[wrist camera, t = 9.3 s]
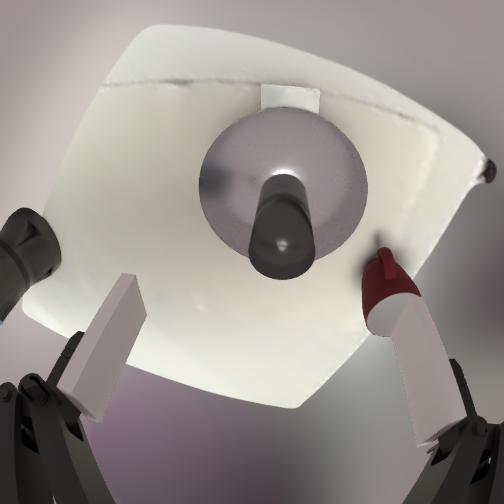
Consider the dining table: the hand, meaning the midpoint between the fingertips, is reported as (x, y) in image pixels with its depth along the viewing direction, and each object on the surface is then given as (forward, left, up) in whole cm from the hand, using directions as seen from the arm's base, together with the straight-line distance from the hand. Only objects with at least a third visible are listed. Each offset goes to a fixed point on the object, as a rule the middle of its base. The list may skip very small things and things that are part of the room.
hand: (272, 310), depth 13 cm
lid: (0, 0, -17) cm, 17 cm away
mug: (+15, -13, -24) cm, 31 cm away
